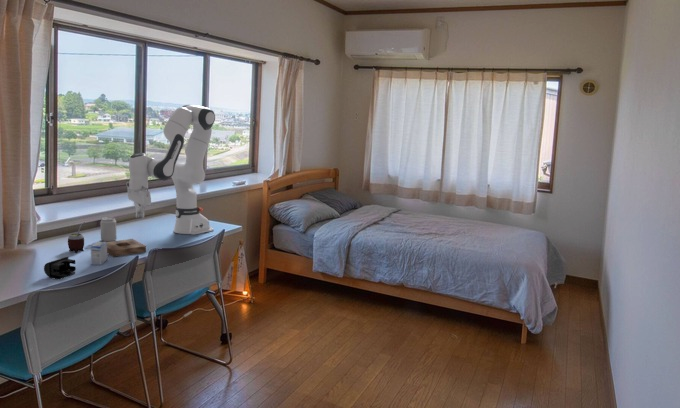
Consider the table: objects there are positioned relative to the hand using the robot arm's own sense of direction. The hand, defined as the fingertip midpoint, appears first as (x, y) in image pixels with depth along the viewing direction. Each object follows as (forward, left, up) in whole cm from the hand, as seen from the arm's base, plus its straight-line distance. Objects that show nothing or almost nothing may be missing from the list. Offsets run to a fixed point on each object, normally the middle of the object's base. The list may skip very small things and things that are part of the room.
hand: (140, 211), depth 274 cm
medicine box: (+29, +24, -17) cm, 42 cm away
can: (+12, -10, -17) cm, 23 cm away
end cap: (+48, +33, -17) cm, 61 cm away
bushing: (0, 0, -3) cm, 3 cm away
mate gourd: (+31, +1, -17) cm, 36 cm away
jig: (+13, +11, -16) cm, 24 cm away
